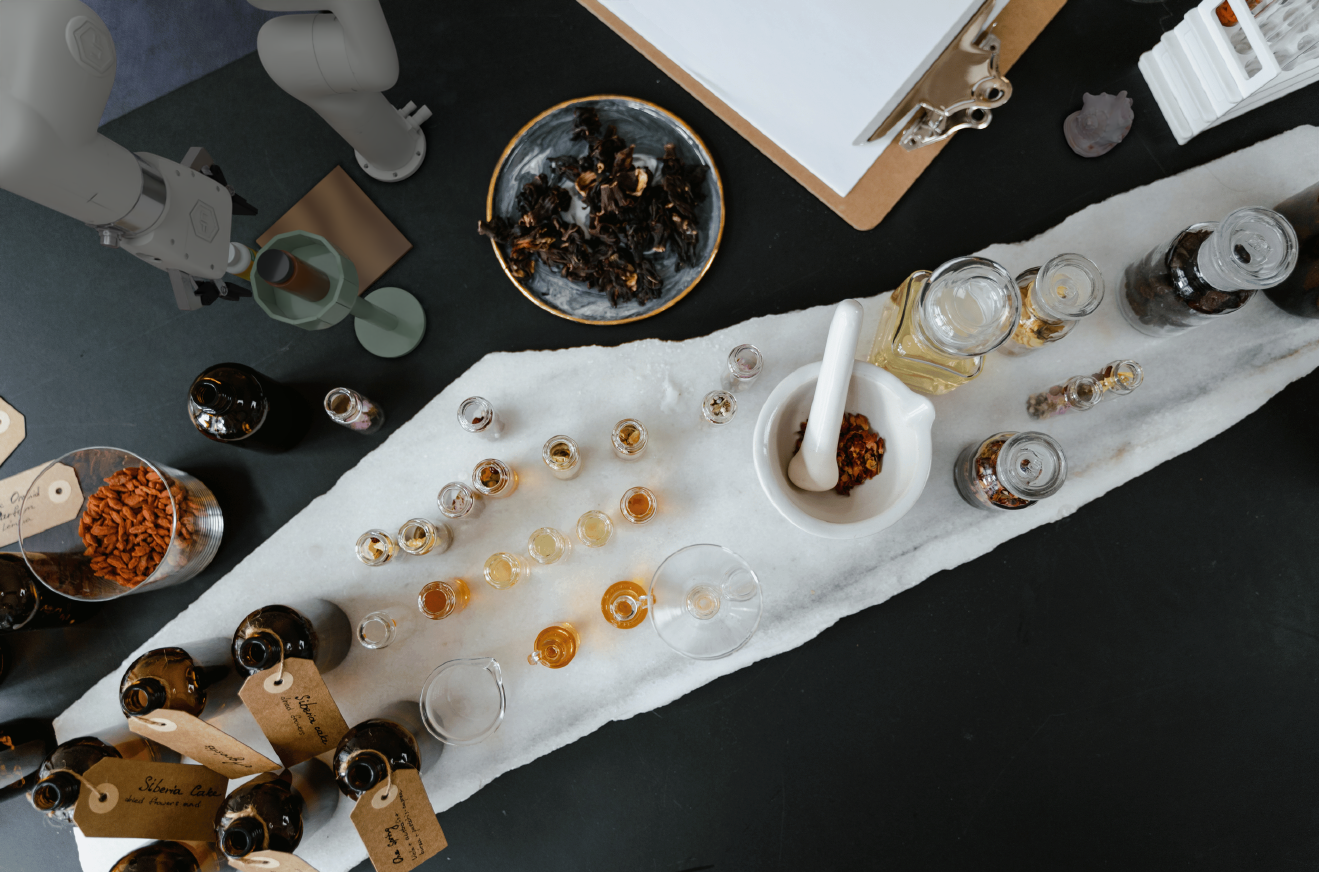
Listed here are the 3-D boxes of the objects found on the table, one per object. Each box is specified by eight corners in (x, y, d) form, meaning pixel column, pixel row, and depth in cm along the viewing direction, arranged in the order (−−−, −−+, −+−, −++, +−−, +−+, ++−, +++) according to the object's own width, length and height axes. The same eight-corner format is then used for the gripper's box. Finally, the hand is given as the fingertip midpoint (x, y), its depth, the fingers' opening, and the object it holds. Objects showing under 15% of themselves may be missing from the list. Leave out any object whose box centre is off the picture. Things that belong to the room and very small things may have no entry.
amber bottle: (314, 260, 92) (274, 238, 83) (337, 285, 92) (299, 266, 83) (289, 284, 92) (246, 264, 83) (311, 309, 92) (270, 292, 83)
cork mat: (340, 166, 118) (338, 164, 118) (413, 246, 117) (412, 245, 117) (257, 241, 118) (255, 240, 118) (330, 323, 117) (328, 322, 117)
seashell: (1050, 116, 115) (1083, 85, 106) (1112, 84, 115) (1150, 51, 105) (1078, 167, 114) (1114, 140, 105) (1141, 135, 114) (1182, 106, 105)
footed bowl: (394, 274, 117) (300, 211, 88) (440, 324, 117) (361, 279, 88) (342, 321, 117) (232, 274, 88) (388, 372, 117) (292, 342, 88)
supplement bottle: (238, 267, 118) (199, 250, 109) (262, 248, 118) (225, 229, 109) (257, 290, 118) (219, 275, 108) (280, 271, 118) (245, 254, 108)
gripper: (151, 287, 60) (269, 327, 77) (166, 100, 60) (279, 181, 78) (70, 284, 60) (206, 325, 77) (86, 98, 61) (217, 179, 78)
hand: (243, 253), depth 77 cm, fingers open, 9 cm apart
